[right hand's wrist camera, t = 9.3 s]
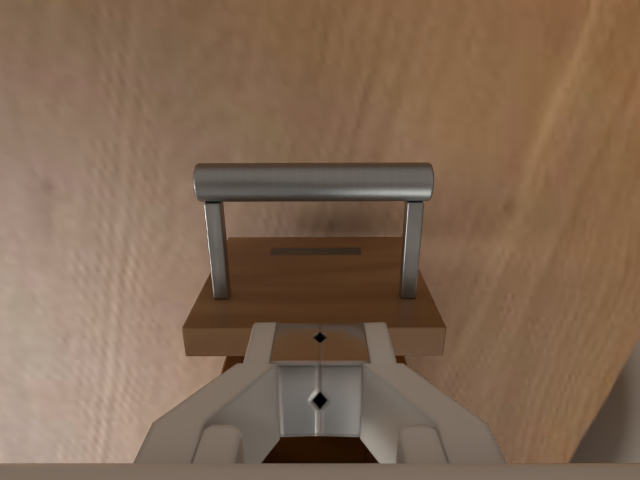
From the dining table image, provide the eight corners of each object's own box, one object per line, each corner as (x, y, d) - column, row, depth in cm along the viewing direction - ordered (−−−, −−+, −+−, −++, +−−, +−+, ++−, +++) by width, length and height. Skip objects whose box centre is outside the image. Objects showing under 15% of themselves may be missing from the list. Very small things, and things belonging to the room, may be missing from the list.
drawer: (219, 135, 22) (160, 179, 14) (411, 134, 22) (464, 178, 14) (246, 456, 29) (219, 605, 21) (388, 456, 29) (413, 604, 21)
